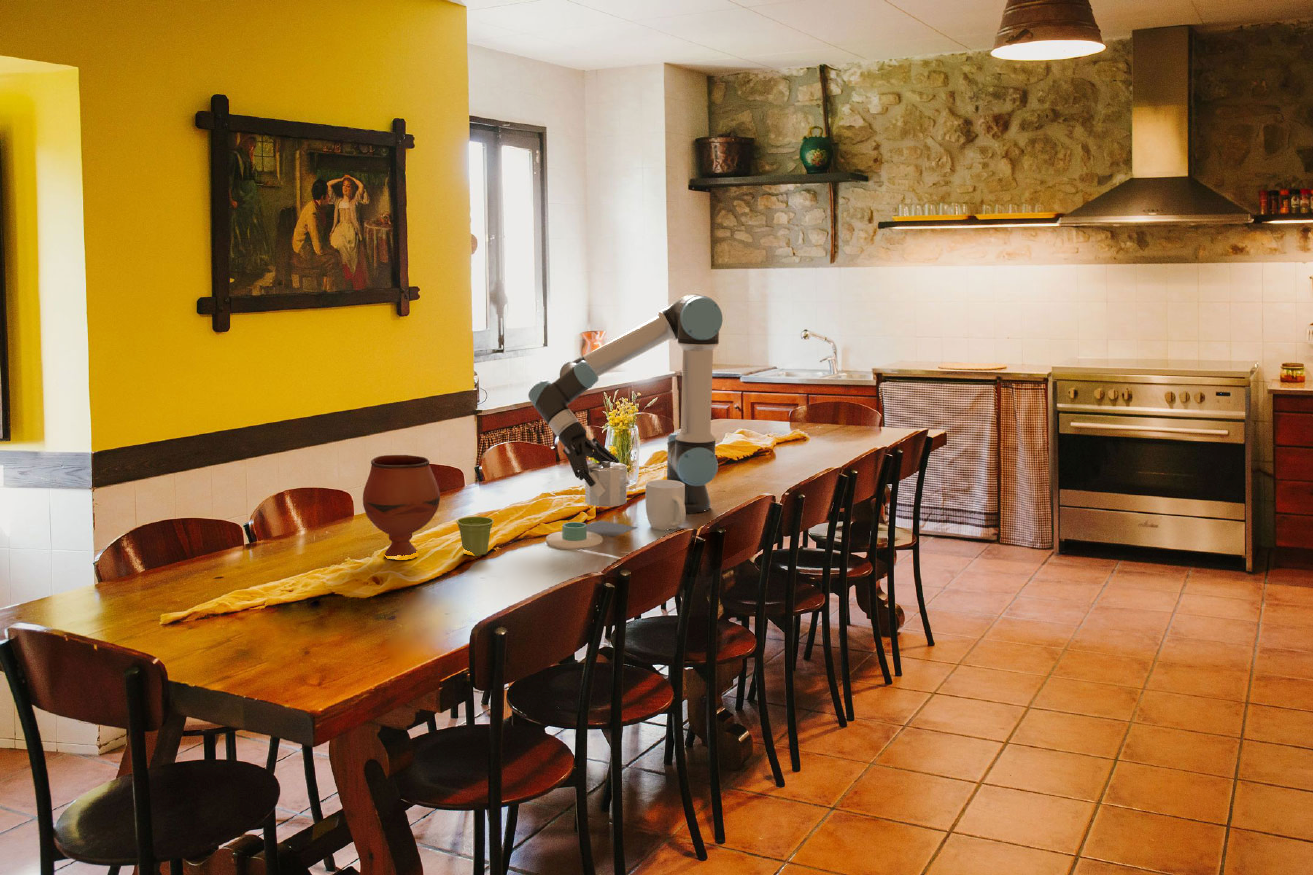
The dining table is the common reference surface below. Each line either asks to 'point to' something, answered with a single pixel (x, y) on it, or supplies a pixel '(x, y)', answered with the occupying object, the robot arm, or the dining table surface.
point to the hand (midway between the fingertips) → (614, 490)
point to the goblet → (400, 498)
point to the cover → (608, 484)
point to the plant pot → (475, 534)
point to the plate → (573, 537)
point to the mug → (665, 504)
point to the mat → (608, 528)
